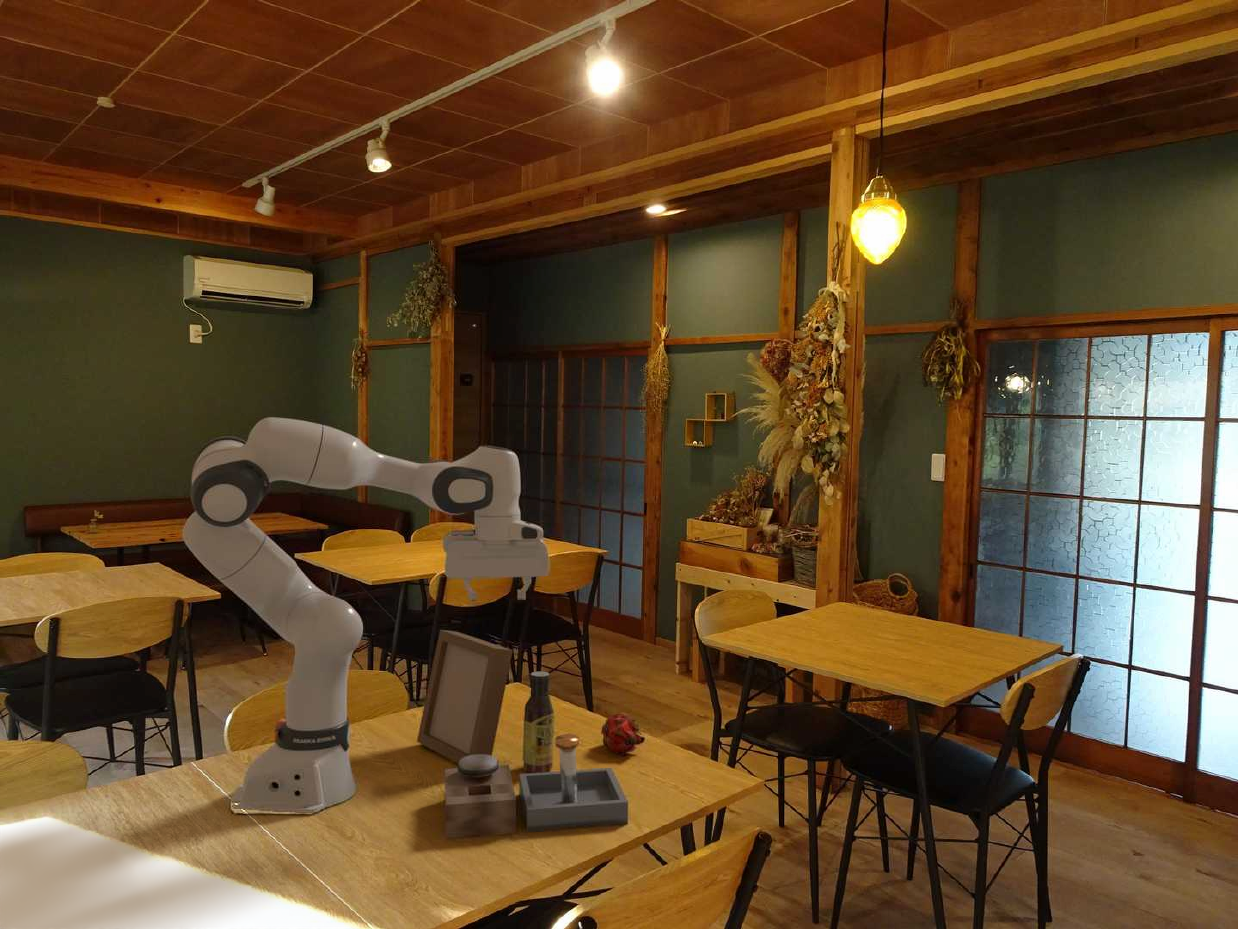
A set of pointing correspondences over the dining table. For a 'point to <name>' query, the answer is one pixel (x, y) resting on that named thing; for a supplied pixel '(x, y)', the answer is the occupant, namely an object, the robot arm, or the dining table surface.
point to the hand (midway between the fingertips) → (497, 600)
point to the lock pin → (568, 767)
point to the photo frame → (464, 696)
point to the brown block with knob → (479, 798)
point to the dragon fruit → (621, 733)
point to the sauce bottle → (538, 726)
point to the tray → (594, 808)
